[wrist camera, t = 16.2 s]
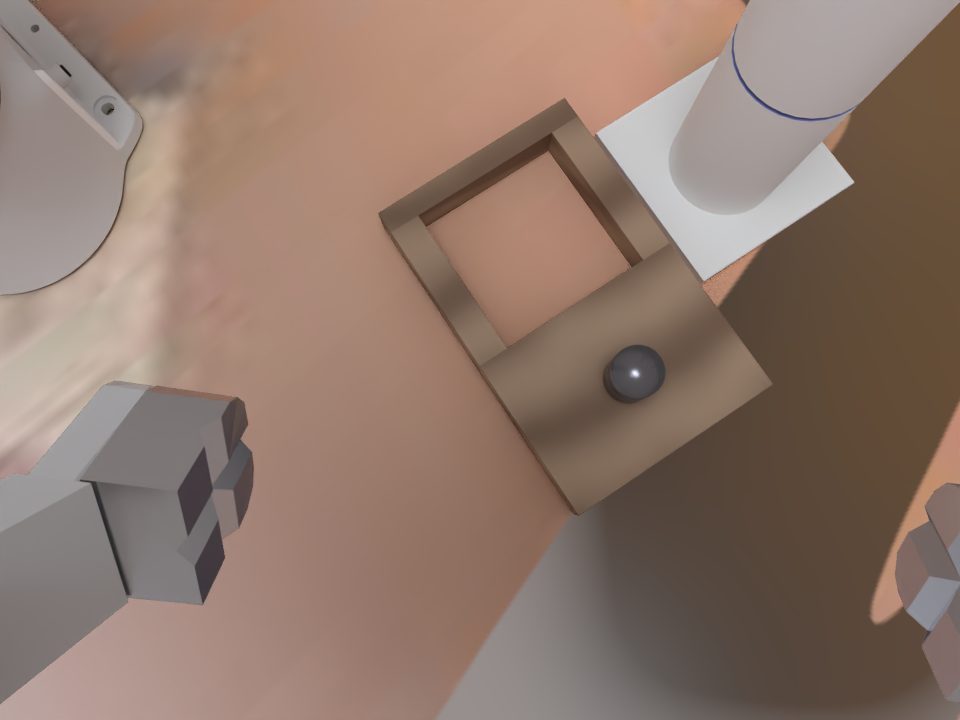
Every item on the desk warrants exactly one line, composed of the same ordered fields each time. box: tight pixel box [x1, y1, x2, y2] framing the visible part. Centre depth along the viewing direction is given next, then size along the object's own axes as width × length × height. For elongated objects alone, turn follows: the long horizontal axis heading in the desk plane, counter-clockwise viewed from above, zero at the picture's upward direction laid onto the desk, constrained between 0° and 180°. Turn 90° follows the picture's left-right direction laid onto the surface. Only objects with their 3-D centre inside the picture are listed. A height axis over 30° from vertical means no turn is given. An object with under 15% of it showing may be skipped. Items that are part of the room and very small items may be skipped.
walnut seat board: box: [378, 98, 773, 516], centre depth 45 cm, size 22×14×6 cm, turn 33°
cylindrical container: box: [669, 0, 960, 215], centre depth 36 cm, size 7×7×25 cm
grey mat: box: [594, 56, 854, 284], centre depth 49 cm, size 12×12×1 cm
